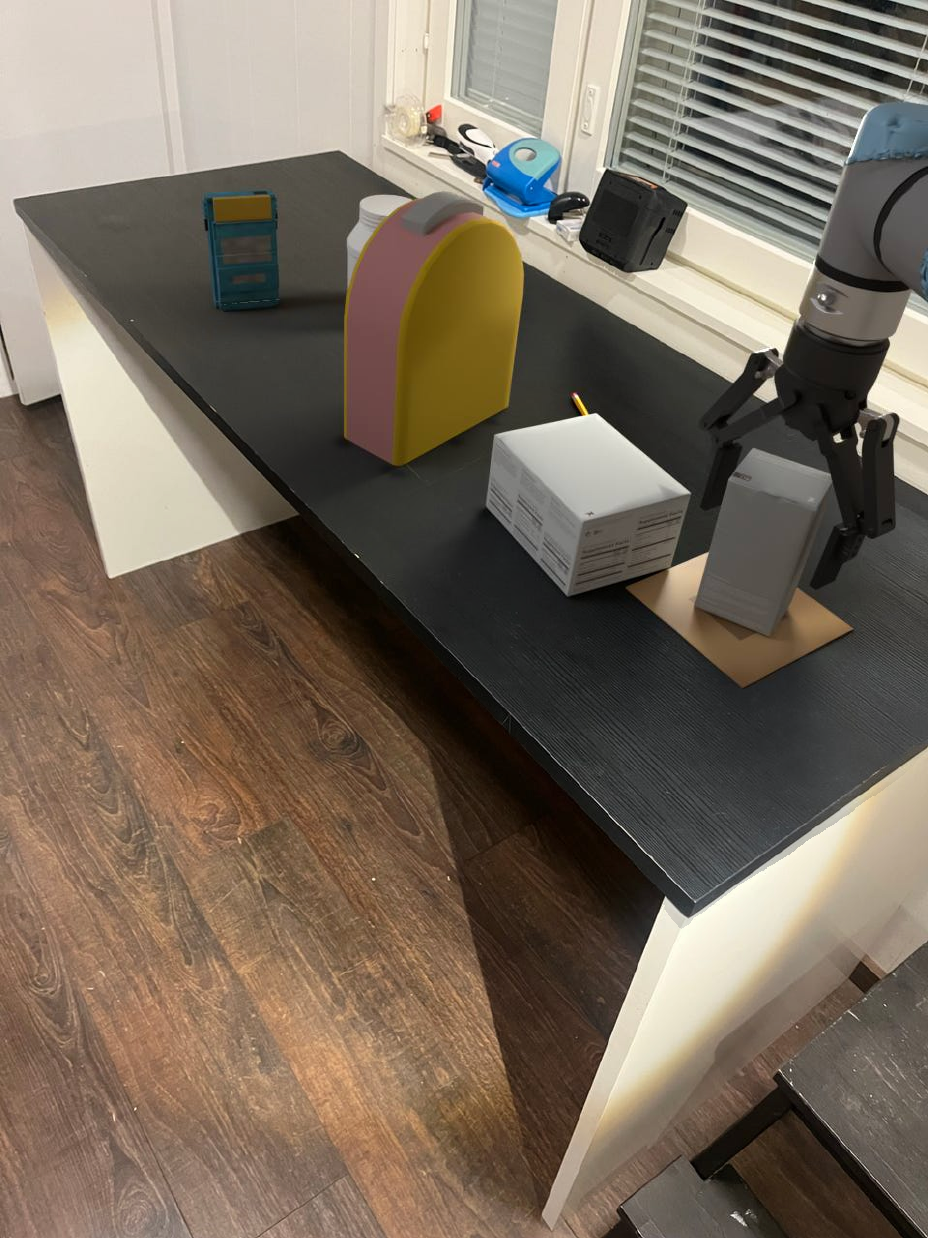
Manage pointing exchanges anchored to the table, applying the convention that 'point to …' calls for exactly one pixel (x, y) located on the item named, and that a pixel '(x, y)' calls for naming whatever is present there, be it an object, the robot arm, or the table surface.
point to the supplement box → (585, 502)
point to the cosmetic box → (762, 540)
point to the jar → (369, 224)
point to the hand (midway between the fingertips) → (764, 542)
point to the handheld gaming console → (242, 248)
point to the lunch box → (430, 327)
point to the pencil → (579, 404)
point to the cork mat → (736, 625)
